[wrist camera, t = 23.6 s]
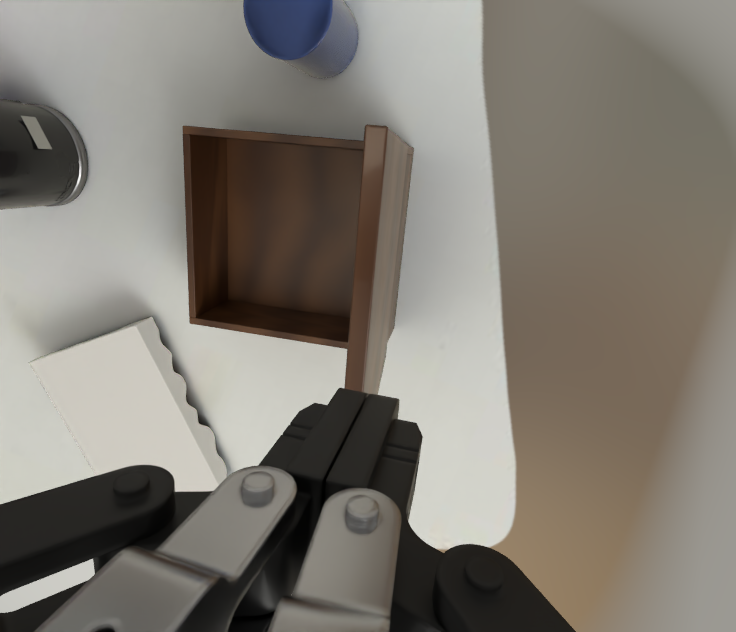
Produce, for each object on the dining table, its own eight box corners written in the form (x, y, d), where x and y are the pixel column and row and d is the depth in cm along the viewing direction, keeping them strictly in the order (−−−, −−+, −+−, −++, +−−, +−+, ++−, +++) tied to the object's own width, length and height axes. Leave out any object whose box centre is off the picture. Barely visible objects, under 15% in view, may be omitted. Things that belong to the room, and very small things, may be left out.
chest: (225, 303, 48) (189, 323, 42) (224, 131, 43) (182, 125, 36) (394, 328, 45) (381, 354, 39) (413, 147, 40) (403, 144, 33)
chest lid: (334, 511, 21) (352, 514, 21) (364, 124, 16) (388, 126, 16) (375, 356, 38) (385, 357, 38) (396, 143, 33) (408, 144, 33)
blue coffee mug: (356, 82, 39) (329, 62, 32) (285, 77, 40) (242, 57, 33) (365, -44, 36) (338, -98, 29) (289, -46, 37) (243, -99, 30)
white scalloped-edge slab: (236, 472, 54) (156, 314, 50) (222, 491, 51) (135, 325, 46) (136, 493, 59) (54, 350, 54) (117, 512, 56) (28, 362, 51)
